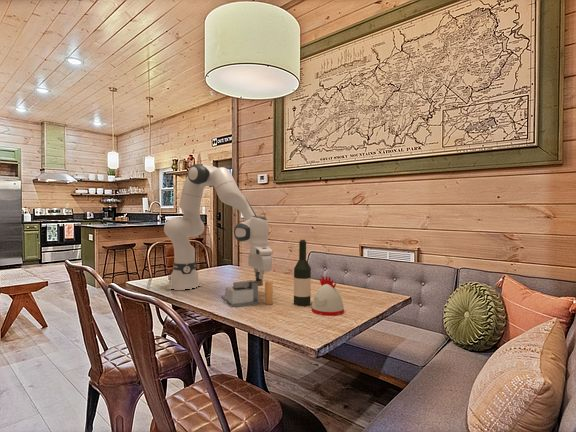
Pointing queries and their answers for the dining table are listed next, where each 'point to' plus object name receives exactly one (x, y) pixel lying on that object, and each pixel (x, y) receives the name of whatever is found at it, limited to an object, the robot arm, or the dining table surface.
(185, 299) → the dining table surface
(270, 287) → the orange rounded cylinder
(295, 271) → the wine bottle
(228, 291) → the mount
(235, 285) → the crank handle
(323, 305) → the kitchen timer
